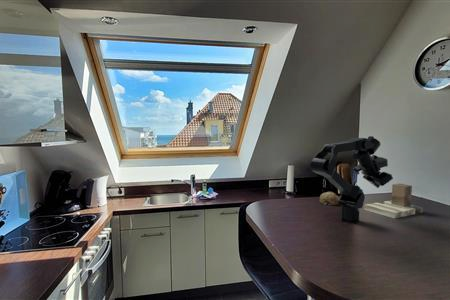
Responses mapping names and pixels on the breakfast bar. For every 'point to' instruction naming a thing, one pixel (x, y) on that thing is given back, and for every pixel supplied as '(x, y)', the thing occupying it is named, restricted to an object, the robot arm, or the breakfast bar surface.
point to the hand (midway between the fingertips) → (378, 187)
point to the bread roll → (329, 198)
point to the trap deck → (392, 209)
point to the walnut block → (401, 195)
